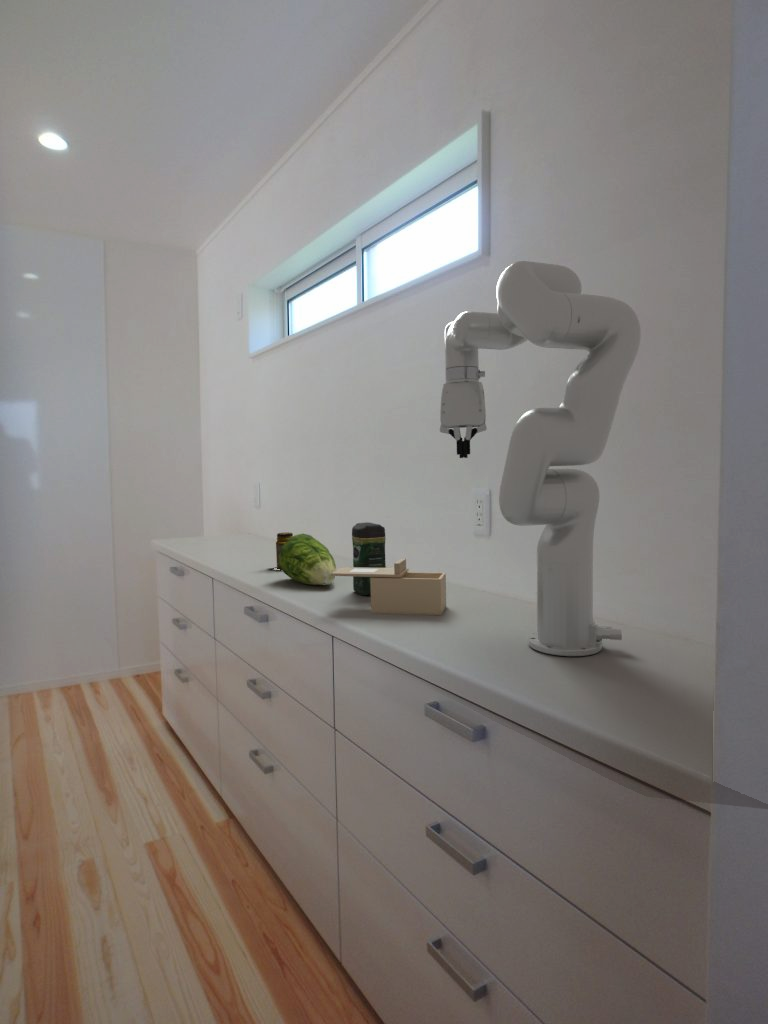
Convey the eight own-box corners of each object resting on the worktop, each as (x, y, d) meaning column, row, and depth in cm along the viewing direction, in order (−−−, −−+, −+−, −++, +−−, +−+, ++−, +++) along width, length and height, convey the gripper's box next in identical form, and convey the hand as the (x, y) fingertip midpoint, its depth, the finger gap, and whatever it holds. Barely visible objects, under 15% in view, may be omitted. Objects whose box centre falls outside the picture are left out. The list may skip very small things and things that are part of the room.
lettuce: (308, 607, 159) (304, 562, 155) (275, 577, 178) (271, 536, 174) (354, 593, 166) (351, 550, 162) (317, 566, 185) (314, 526, 181)
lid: (408, 570, 139) (408, 558, 139) (400, 577, 131) (400, 564, 131) (342, 569, 143) (342, 557, 143) (330, 575, 135) (330, 562, 135)
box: (446, 606, 137) (445, 572, 137) (441, 615, 130) (440, 579, 129) (379, 604, 141) (379, 571, 141) (371, 612, 133) (370, 577, 133)
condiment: (300, 568, 197) (299, 532, 196) (279, 572, 191) (277, 535, 190) (287, 566, 202) (286, 531, 201) (266, 569, 196) (265, 533, 195)
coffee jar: (391, 594, 152) (389, 523, 151) (362, 597, 149) (360, 525, 148) (376, 587, 161) (375, 520, 160) (349, 590, 158) (347, 522, 157)
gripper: (495, 377, 137) (497, 457, 138) (432, 381, 140) (433, 459, 141) (494, 372, 129) (496, 456, 131) (427, 377, 133) (429, 458, 134)
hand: (463, 457), depth 136 cm, fingers closed
